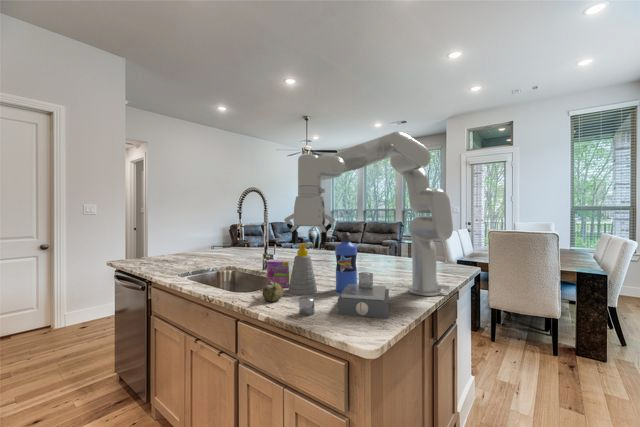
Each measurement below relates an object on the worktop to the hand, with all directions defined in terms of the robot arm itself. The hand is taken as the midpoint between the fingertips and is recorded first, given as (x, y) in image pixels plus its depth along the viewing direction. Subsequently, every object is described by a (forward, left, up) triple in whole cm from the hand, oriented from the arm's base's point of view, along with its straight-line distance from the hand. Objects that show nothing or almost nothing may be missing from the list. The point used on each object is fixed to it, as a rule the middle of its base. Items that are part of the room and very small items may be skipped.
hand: (309, 243), depth 96 cm
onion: (+18, -10, -23) cm, 31 cm away
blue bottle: (-7, -30, -23) cm, 39 cm away
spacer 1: (+1, +1, -23) cm, 23 cm away
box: (+24, -31, -23) cm, 46 cm away
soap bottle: (+11, -25, -23) cm, 36 cm away
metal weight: (-17, -13, -17) cm, 27 cm away
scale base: (-17, -9, -23) cm, 30 cm away
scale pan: (-17, -9, -18) cm, 27 cm away
